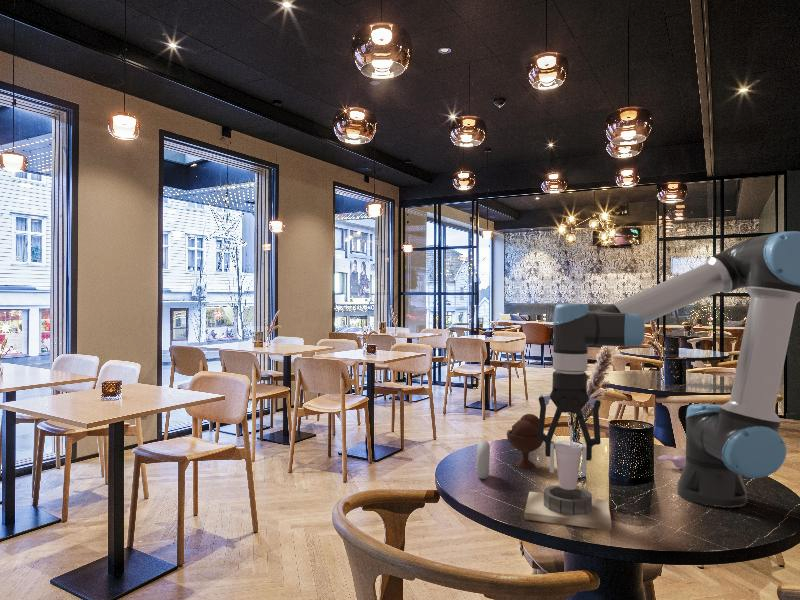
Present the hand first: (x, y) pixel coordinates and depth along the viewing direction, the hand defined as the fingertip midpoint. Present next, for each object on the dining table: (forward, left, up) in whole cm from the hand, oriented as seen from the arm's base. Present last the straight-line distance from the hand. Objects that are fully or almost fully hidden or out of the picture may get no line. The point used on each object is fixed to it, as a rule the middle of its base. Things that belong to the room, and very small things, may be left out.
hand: (567, 472), depth 129 cm
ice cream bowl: (+12, -33, -9) cm, 36 cm away
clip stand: (0, 0, -9) cm, 9 cm away
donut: (+22, -18, -9) cm, 30 cm away
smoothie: (0, 0, -4) cm, 4 cm away
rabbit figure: (-32, -45, -10) cm, 56 cm away
